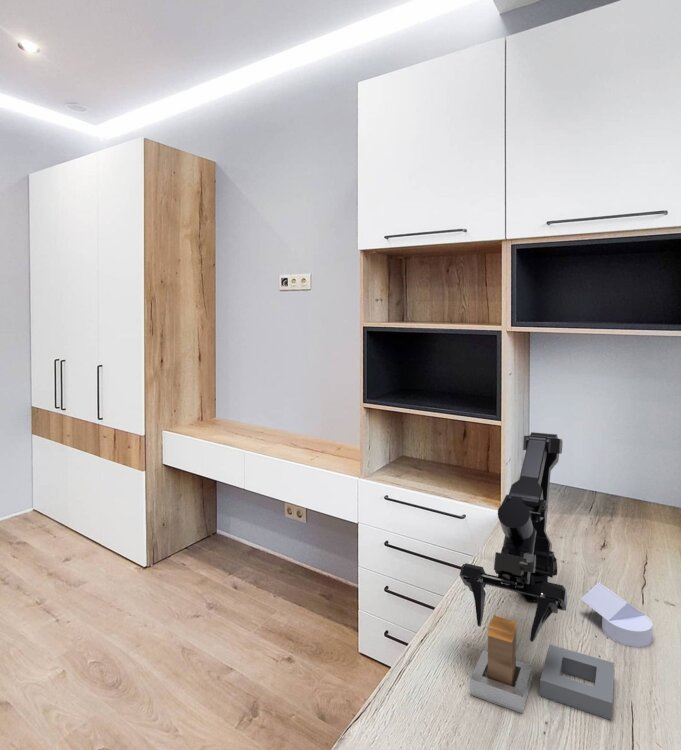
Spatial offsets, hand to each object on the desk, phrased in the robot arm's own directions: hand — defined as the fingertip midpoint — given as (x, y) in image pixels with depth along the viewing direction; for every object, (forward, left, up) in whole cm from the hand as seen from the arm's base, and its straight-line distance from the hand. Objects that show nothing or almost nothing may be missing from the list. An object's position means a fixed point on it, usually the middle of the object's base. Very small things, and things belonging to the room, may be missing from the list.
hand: (504, 633), depth 89 cm
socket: (+3, +12, -9) cm, 16 cm away
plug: (+2, -1, -9) cm, 9 cm away
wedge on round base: (-13, +30, -9) cm, 35 cm away
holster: (+2, -1, -9) cm, 9 cm away
